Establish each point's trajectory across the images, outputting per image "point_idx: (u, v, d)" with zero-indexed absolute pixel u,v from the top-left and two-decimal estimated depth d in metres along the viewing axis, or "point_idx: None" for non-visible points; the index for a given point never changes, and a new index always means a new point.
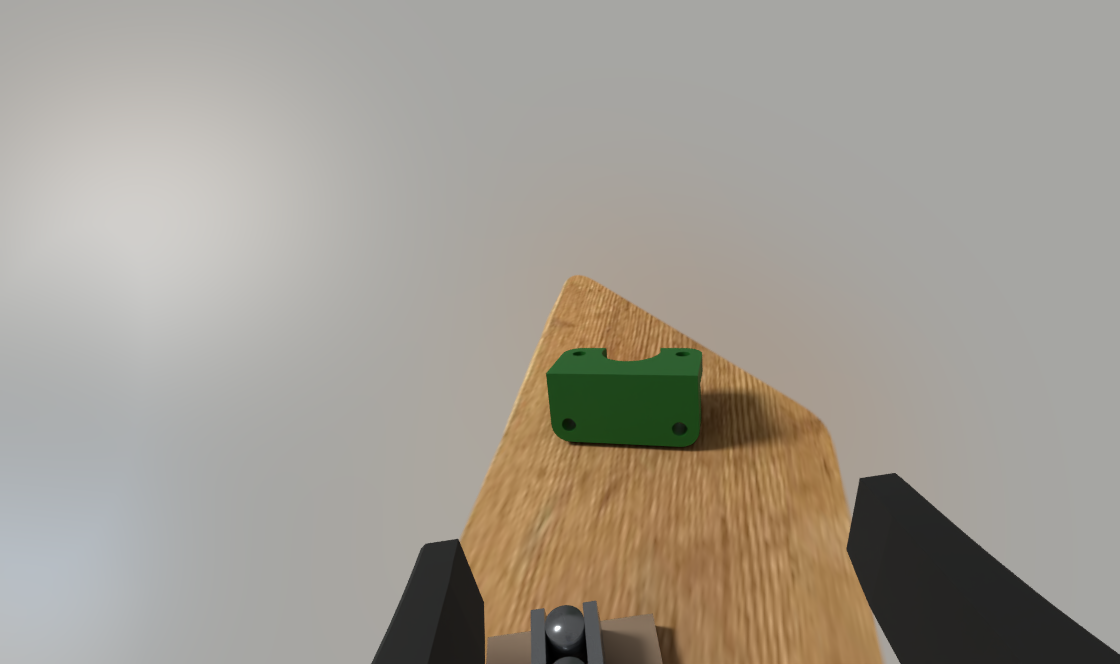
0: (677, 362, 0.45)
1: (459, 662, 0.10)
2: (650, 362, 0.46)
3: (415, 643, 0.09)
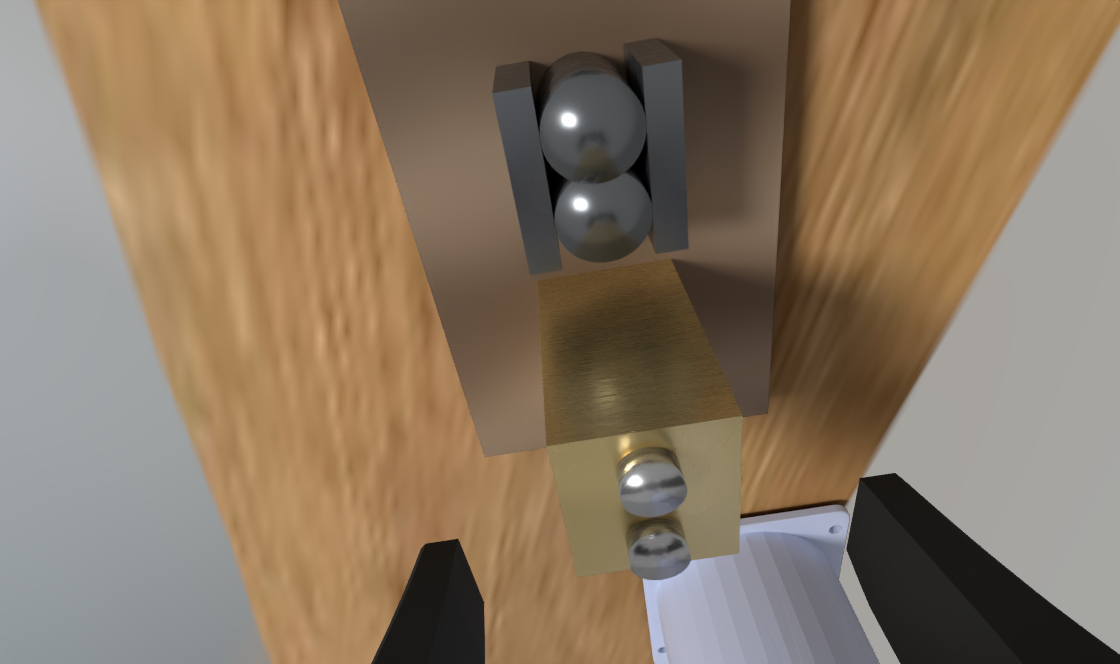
0: None
1: (459, 662, 0.10)
2: None
3: (415, 643, 0.09)
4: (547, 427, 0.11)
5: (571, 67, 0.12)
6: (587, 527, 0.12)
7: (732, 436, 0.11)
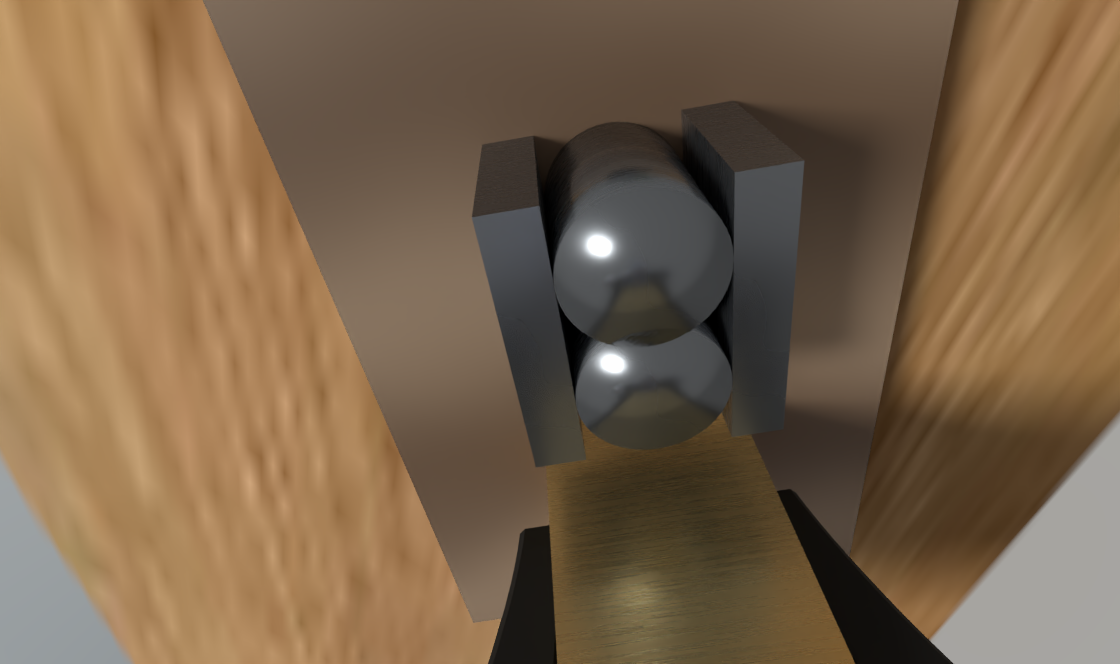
0: None
1: None
2: None
3: (537, 625, 0.09)
4: None
5: (605, 159, 0.07)
6: None
7: None
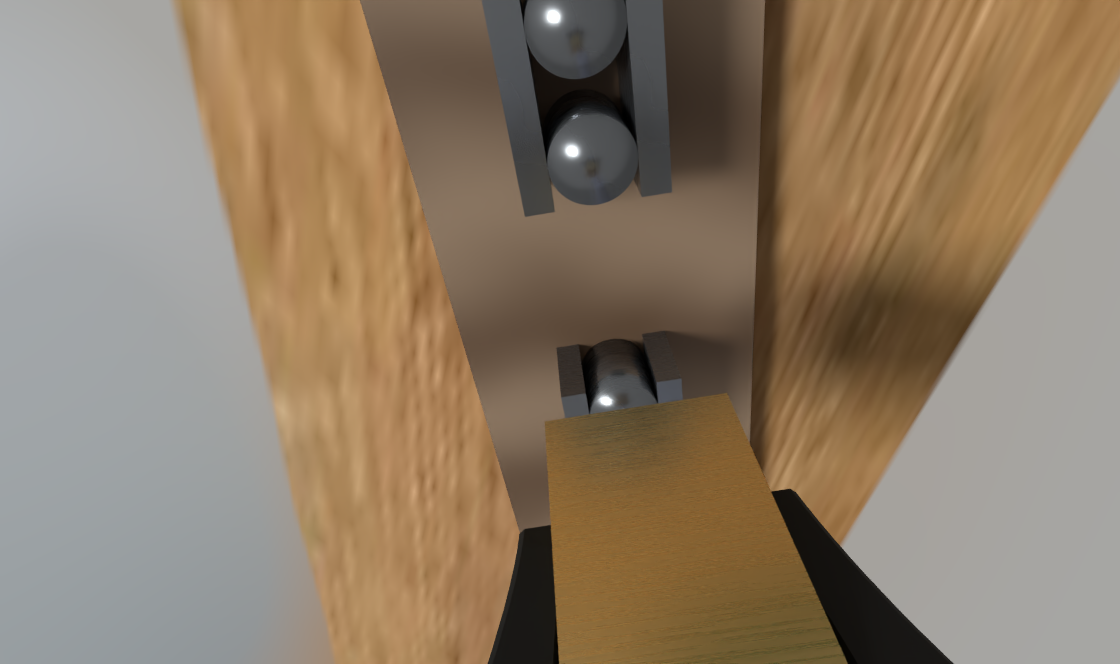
0: None
1: None
2: None
3: (536, 625, 0.09)
4: None
5: (609, 366, 0.18)
6: None
7: None
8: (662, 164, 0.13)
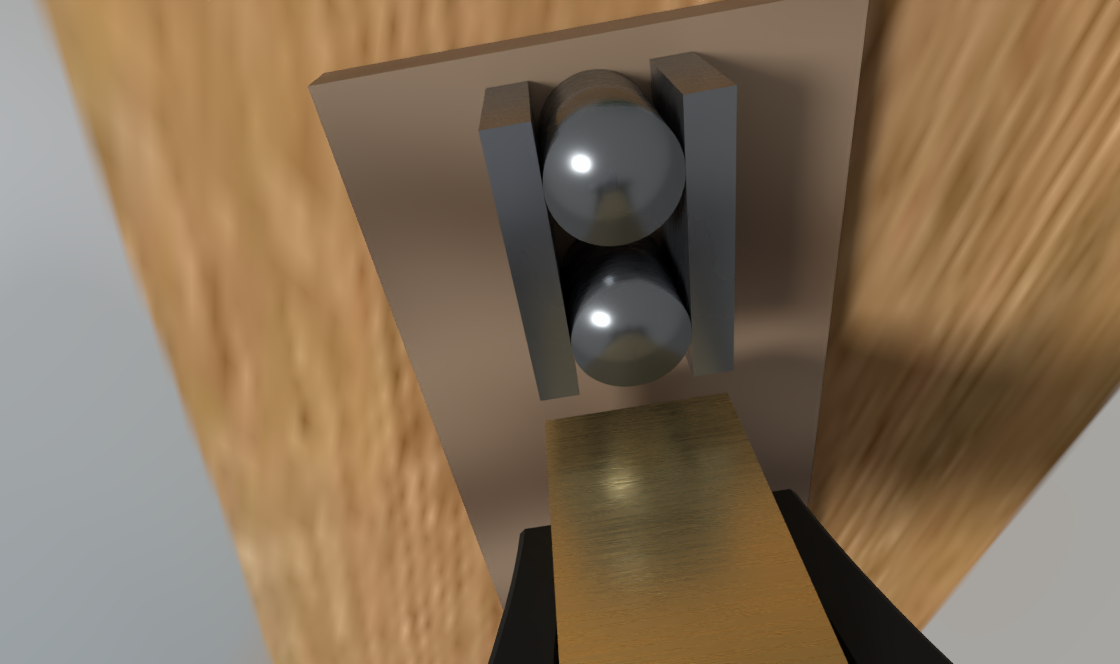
0: None
1: None
2: None
3: (537, 625, 0.09)
4: None
5: None
6: None
7: None
8: (722, 340, 0.10)
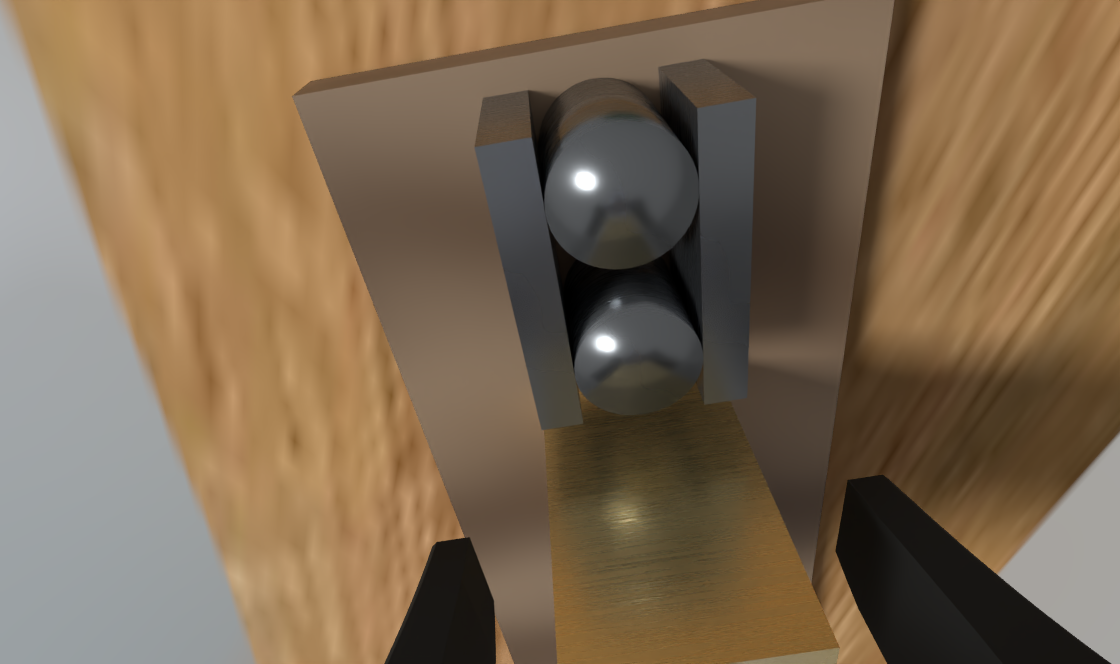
0: None
1: (472, 660, 0.10)
2: None
3: (429, 641, 0.09)
4: (560, 649, 0.08)
5: None
6: None
7: None
8: (736, 367, 0.10)
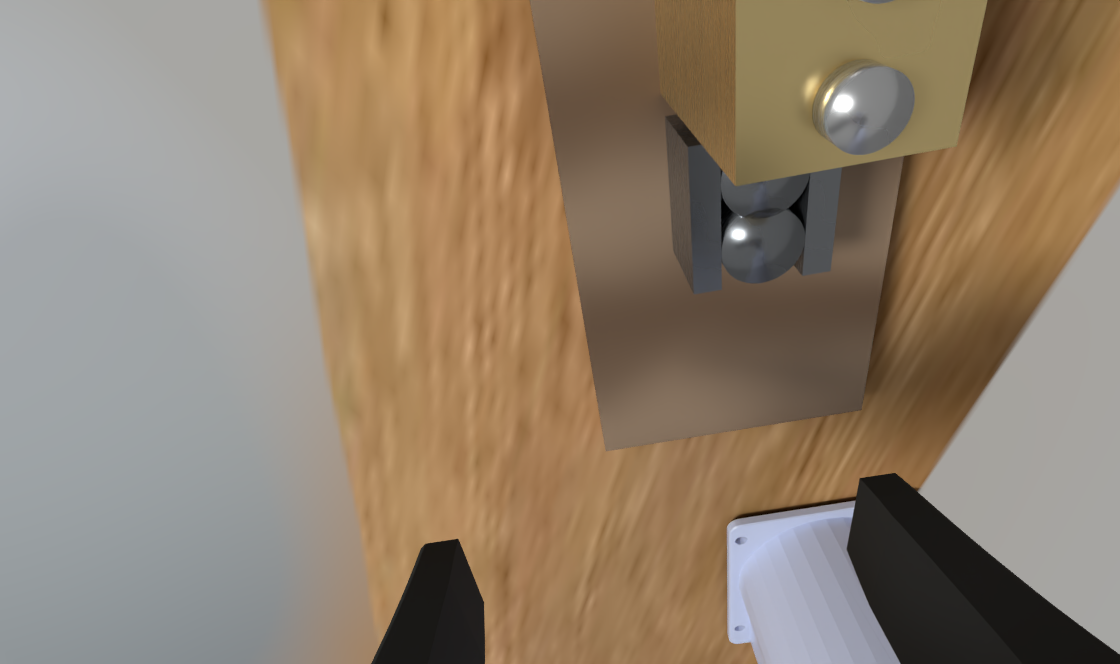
0: None
1: (459, 662, 0.10)
2: None
3: (415, 643, 0.09)
4: None
5: None
6: (765, 75, 0.09)
7: None
8: None
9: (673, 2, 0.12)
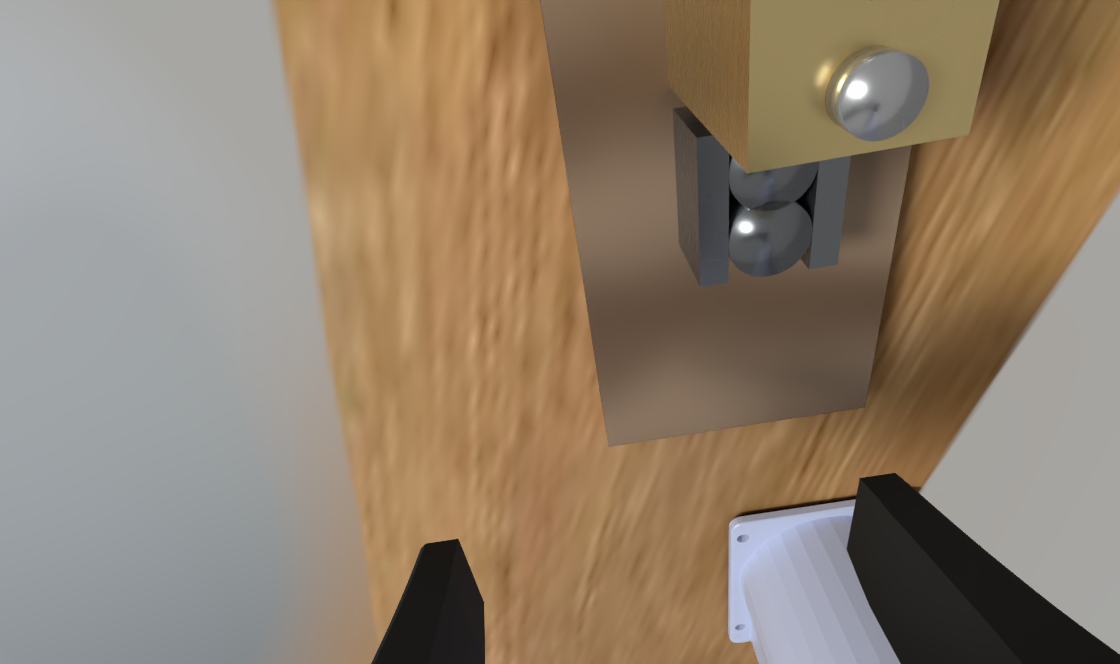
0: None
1: (459, 662, 0.10)
2: None
3: (415, 643, 0.09)
4: None
5: None
6: (779, 61, 0.09)
7: None
8: None
9: None
